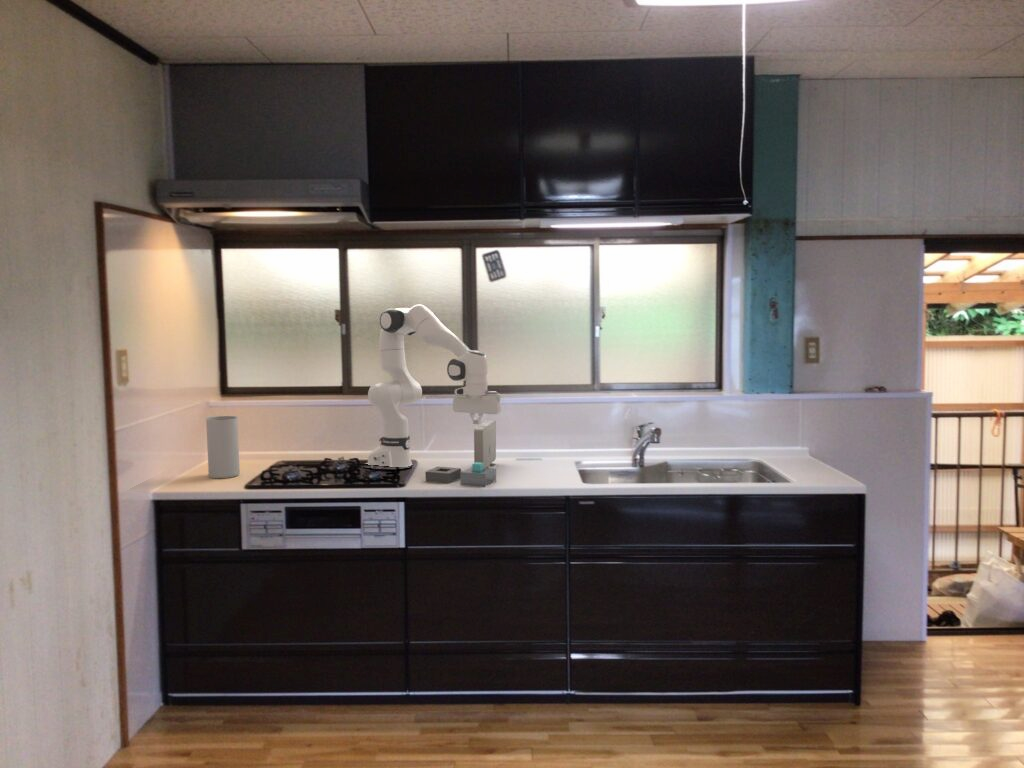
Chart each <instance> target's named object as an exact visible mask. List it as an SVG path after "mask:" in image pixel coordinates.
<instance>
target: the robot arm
mask: <svg viewBox="0 0 1024 768" xmlns="http://www.w3.org/2000/svg"><path fill="white" fill-rule="evenodd" d="M379 326H380V328H381V329H380V332H379V340H378V341H379V344H378V345H379V346H378V347H379V349H378V350H379V362H380V367H381V370H383V371H384V372H385V373H386V374H388V375H389V376H390V377H391V380H392V381H382V382H377V383H375V384H372V385H371V386H370V387H369V389H368V391H367V397H368V401H369V403H370V404H371V405H372V406H373V407H375V408H376V409H377V411H378V412H379V413H380V416H381V419H382V424H383V436H382V437H381V438H379V439H378V442H380V444H379V445H378V446H377V447H376V448H375V449H373V450H372V451H371V452H370V453H369V454H368V457H367V462H366V463H365V464H368V465H379V466H389V467H408V466H411V465H413V462H412V458H411V451H410V449H411V439H410V437H411V436H410V434H409V429H410V428H409V419H408V418H407V416H406V415H404V414H402V413H401V412H400V411H399V406H406V405H412V404H414V403H417V402H420V401H421V399H422V396H423V389H422V386H421V384H420V383H419V382H418V381H416V380H415V379H414V377H412V375H411V374H410V372H409V369H408V367H407V360H406V352H405V337H406V335H408V336H412V335H414V334H416V335H417V336H418V338H419V339H420V340H421V341H422V342H424V343H425V344H426V345H429V346H432V347H437V348H443V349H445V350H448V351H450V352H452V353H453V354H454V355H455V357H454V358H452V359H450V360H449V361H448V363H447V368H446V372H447V375H448V377H449V378H450V379H451V380H452V381H454V382H455V381H456V382H463V381H465V386H461V387H459V388H456V389H454V394H455V395H454V396H453V399H452V410H453V412H455V413H465V414H466V413H467V414H469V417H470V418H471V421H472V424H473V425H481V424H482V419H483V417H484V415H486V414H487V415H499V414H500V413H501V411H502V409H501V394H500V393H499V392H497V391H495V390H493V391H492V390H488V377H487V375H488V359H487V354H486V353H485V352H484V351H481V350H476V349H470V348H469V346H467V345H466V343H464V342H463V340H462V339H461V338H460V337H458V336H457V335H456V334H455V333H454V332H452V331H451V329H448V328H447V327H446V326H445V324H443V323H442V322H441V321H440V320H439V318H438V317H437V316H436V315H435V314H434V312H432V310H430V309H429V308H428V307H427V306H425V305H423V304H415V305H412V306H411V307H410V308H409V307H397V308H394V307H393V308H387V309H385V310H383V311H382V312H381V313H380V316H379ZM476 414H477V416H478V418H476V417H475V416H476Z"/></svg>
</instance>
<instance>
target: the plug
mask: <svg viewBox="0 0 1024 768" xmlns="http://www.w3.org/2000/svg"><path fill="white" fill-rule="evenodd" d="M471 467H472V471H474V472H483V471H484V463H479V462H475V463H474V462H473V463H472V465H471Z"/></svg>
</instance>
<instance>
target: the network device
mask: <svg viewBox="0 0 1024 768" xmlns="http://www.w3.org/2000/svg"><path fill="white" fill-rule="evenodd" d="M496 423H497V422H496V420H486V421H484V422H483V423H482V422H481V424H478V425H477V426H476V427H474V430H473V448H474V449H473V450H474V451H473V453H474V454H473V457H474V458H473V460H474V461H473V463H475V462H479V463H484V468H492V469H496V468H498V466H499V464H498V463H494V462H495V461H496V458H497V438H496V437H497V436H496V435H497V427H496V425H497V424H496Z"/></svg>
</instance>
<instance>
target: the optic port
mask: <svg viewBox="0 0 1024 768" xmlns="http://www.w3.org/2000/svg"><path fill="white" fill-rule="evenodd" d="M459 480H460V485H463V484H467V485H466V486H475V485H479V486H478V487H487V486H489V485H490V483H491V484H493V483H494V482H493V481H495V480H496V481H497V469H496V468H495V469H492V468H484V471H483V472H474V471H472V466H471V467H469V468H468V467H467V468H466V469H464V470H461V472H460V478H459ZM496 481H495V482H496ZM492 482H493V483H492ZM488 484H489V485H488ZM486 485H487V486H486Z"/></svg>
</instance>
